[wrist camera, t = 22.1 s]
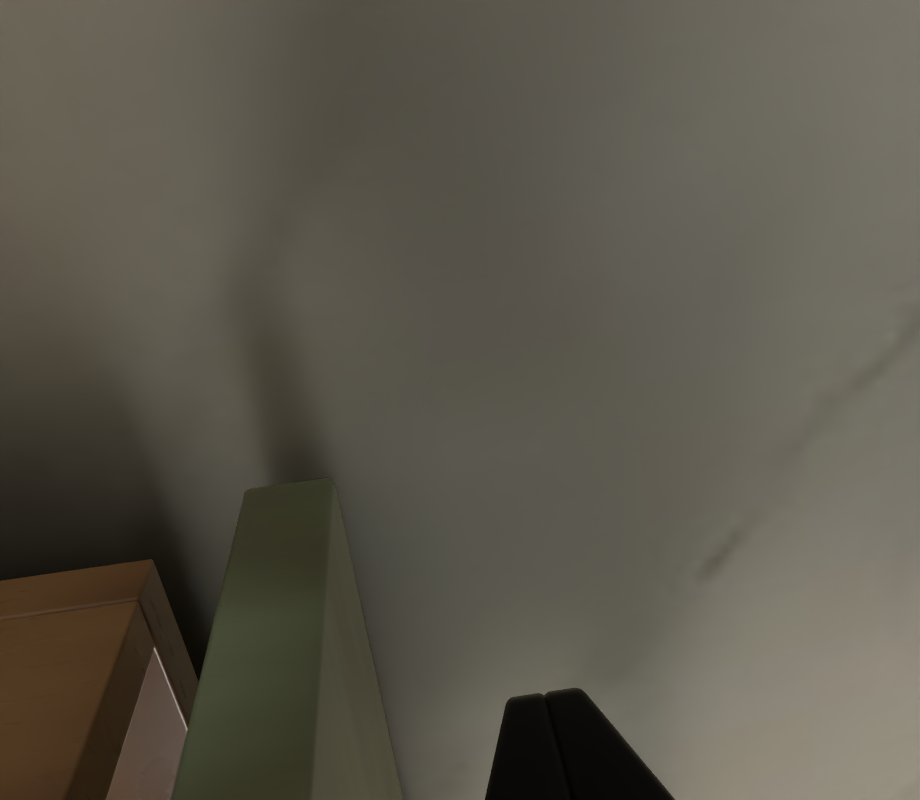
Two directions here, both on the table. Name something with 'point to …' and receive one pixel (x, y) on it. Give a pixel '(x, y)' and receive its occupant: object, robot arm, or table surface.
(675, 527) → the table surface
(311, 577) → the drawer
